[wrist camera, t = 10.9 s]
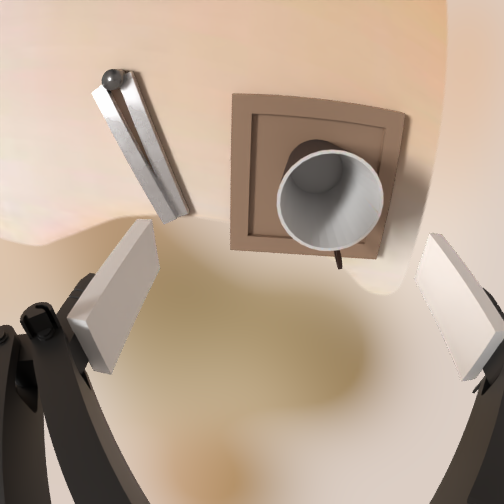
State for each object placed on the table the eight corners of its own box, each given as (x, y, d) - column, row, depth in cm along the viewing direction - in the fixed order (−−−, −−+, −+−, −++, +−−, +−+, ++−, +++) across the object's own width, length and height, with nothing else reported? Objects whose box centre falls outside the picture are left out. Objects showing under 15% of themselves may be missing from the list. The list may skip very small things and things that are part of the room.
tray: (233, 93, 29) (232, 93, 28) (401, 112, 28) (405, 113, 27) (231, 244, 38) (230, 249, 37) (373, 254, 38) (376, 259, 37)
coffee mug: (284, 120, 30) (289, 137, 21) (363, 140, 30) (397, 166, 22) (264, 220, 36) (259, 270, 27) (335, 234, 36) (352, 286, 28)
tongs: (95, 82, 28) (87, 83, 27) (129, 62, 27) (122, 62, 26) (154, 222, 38) (149, 229, 36) (189, 211, 37) (185, 218, 35)
